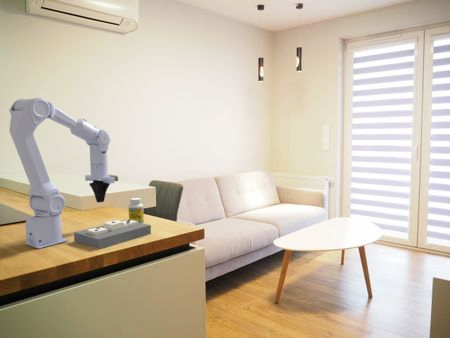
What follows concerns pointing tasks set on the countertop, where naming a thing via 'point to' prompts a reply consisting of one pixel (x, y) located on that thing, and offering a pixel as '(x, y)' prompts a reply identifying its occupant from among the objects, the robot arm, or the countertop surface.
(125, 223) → the tile three
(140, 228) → the button board
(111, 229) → the tile one
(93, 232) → the tile two
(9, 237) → the countertop surface
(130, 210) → the supplement bottle
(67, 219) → the countertop surface
